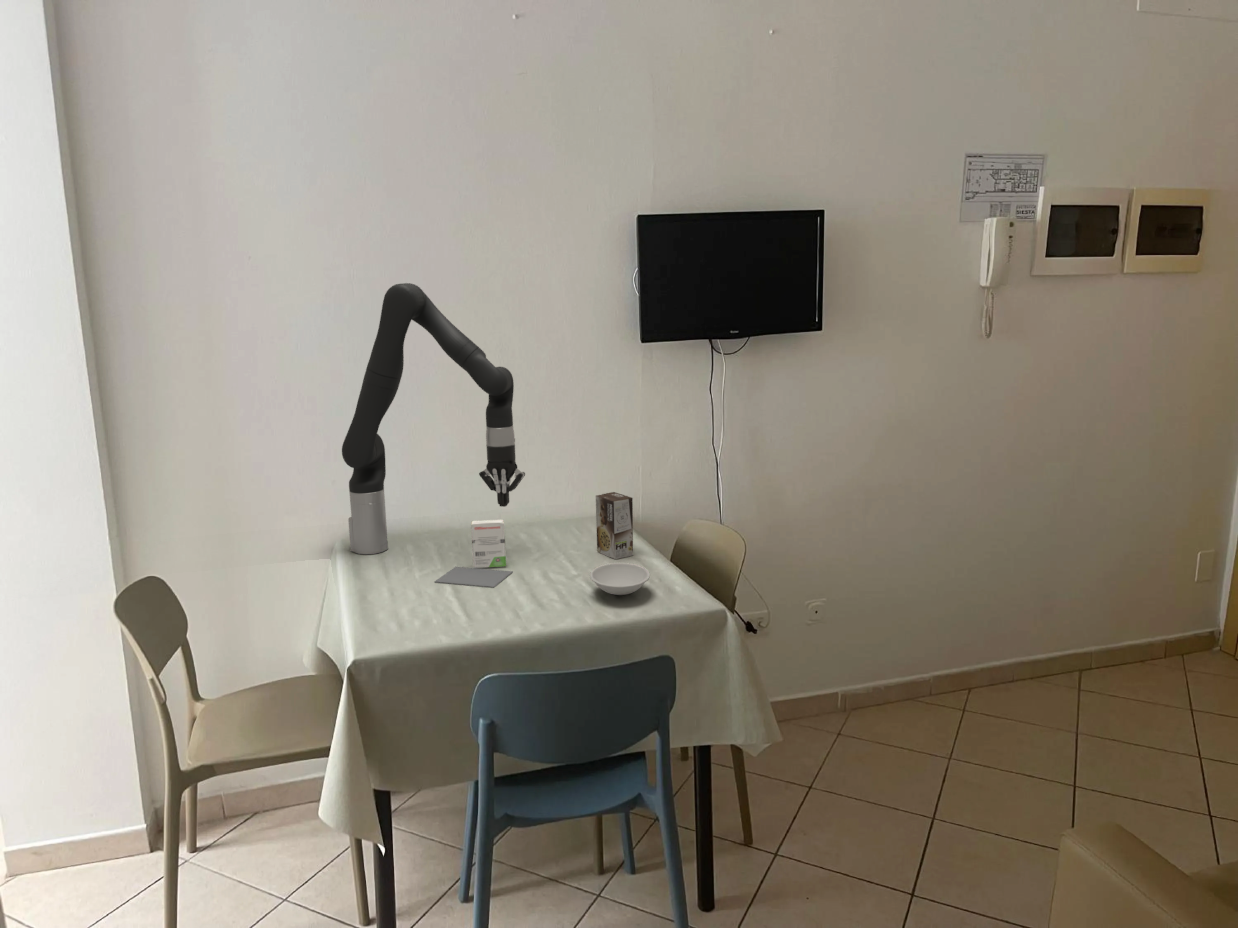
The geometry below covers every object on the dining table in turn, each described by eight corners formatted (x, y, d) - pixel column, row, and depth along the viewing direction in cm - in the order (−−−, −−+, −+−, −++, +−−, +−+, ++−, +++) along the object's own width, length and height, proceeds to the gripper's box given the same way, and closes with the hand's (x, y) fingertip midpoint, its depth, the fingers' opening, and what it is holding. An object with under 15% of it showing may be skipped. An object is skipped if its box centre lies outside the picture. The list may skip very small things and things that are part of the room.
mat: (434, 582, 229) (434, 581, 229) (455, 567, 240) (455, 566, 240) (493, 587, 224) (493, 586, 224) (512, 572, 236) (512, 571, 236)
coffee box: (634, 555, 248) (633, 497, 245) (614, 559, 245) (613, 501, 241) (615, 547, 256) (614, 491, 252) (595, 551, 252) (594, 494, 249)
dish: (653, 606, 211) (653, 585, 210) (590, 608, 210) (590, 587, 209) (647, 580, 228) (646, 561, 227) (589, 582, 227) (588, 563, 226)
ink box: (505, 562, 244) (504, 518, 242) (506, 566, 239) (504, 522, 237) (473, 563, 243) (471, 520, 241) (472, 568, 238) (470, 523, 236)
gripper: (471, 444, 243) (475, 508, 246) (518, 446, 239) (521, 510, 243) (483, 439, 250) (486, 501, 253) (528, 440, 246) (531, 503, 250)
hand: (503, 505), depth 248 cm, fingers closed
